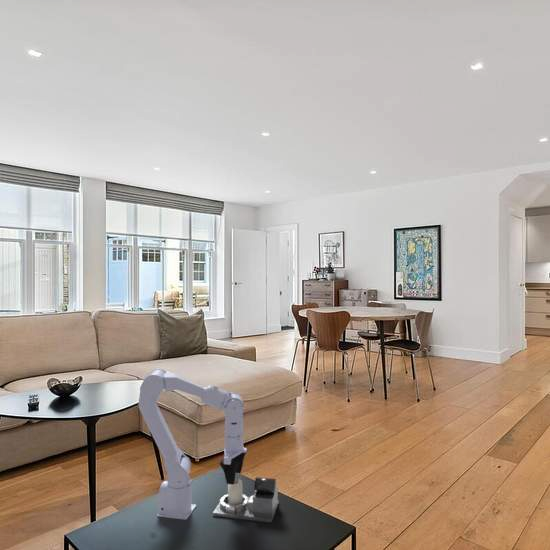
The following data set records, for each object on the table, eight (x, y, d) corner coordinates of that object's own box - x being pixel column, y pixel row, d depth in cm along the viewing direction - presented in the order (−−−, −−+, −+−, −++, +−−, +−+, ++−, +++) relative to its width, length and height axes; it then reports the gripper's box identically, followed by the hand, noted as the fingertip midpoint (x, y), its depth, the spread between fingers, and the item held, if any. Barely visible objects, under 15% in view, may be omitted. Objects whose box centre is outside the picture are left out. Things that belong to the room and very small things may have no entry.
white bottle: (239, 509, 130) (238, 483, 130) (225, 507, 131) (225, 481, 131) (245, 502, 134) (244, 476, 134) (232, 500, 135) (231, 474, 135)
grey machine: (212, 515, 128) (212, 482, 128) (224, 497, 139) (224, 466, 139) (271, 522, 125) (271, 488, 125) (278, 503, 135) (278, 471, 135)
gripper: (239, 444, 125) (240, 490, 125) (252, 427, 139) (252, 468, 139) (217, 442, 126) (217, 488, 126) (231, 425, 140) (231, 467, 140)
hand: (234, 478), depth 133 cm, fingers open, 7 cm apart
